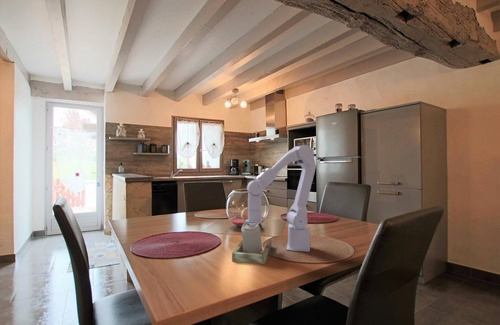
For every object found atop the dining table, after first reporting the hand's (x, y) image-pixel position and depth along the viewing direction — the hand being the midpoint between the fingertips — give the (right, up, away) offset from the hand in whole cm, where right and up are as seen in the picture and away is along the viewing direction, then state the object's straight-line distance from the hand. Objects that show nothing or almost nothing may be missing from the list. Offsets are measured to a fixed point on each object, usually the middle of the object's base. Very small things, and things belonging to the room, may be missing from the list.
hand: (254, 242), depth 110 cm
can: (-1, -3, -4) cm, 4 cm away
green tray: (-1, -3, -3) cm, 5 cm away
